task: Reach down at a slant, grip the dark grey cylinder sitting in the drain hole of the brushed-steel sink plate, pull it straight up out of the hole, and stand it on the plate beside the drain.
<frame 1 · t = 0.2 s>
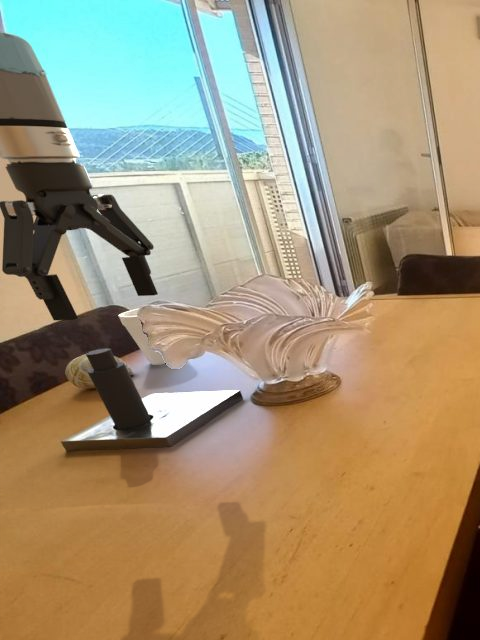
hand: (110, 306, 75), 25 cm above the table, tool pointing down, fingers open, 13 cm apart
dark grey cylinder: (138, 431, 88), resting in sink plate
sink plate: (162, 422, 90), on the table
seashell: (105, 383, 108), on the table
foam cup: (167, 360, 120), on the table
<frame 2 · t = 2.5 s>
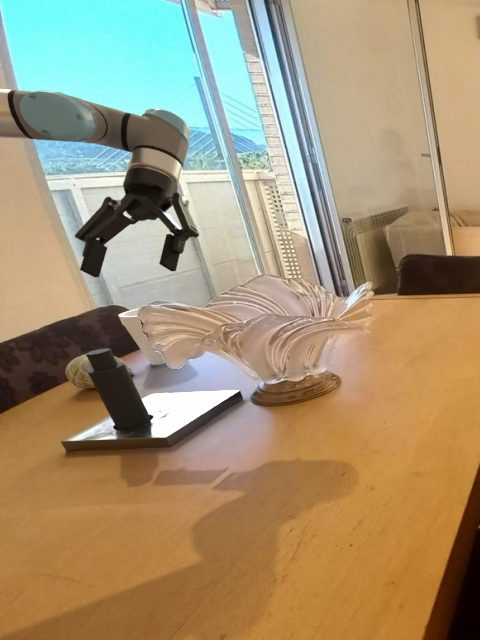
hand: (128, 270, 88), 27 cm above the table, tool tilted 45°, fingers open, 13 cm apart
nothing on the table moved.
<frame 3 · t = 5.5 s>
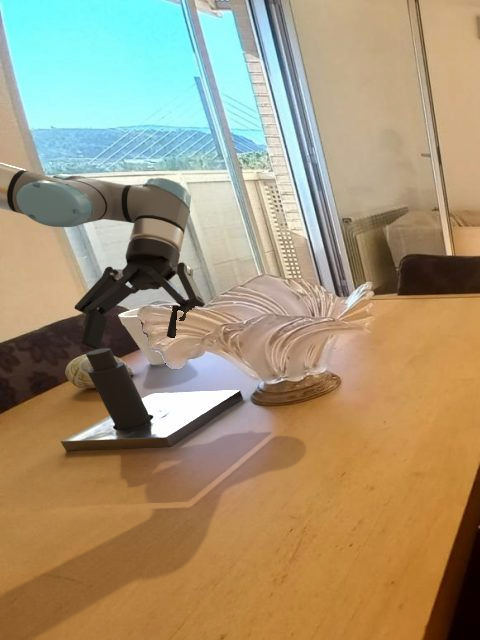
hand: (132, 342, 88), 15 cm above the table, tool tilted 45°, fingers open, 13 cm apart
nothing on the table moved.
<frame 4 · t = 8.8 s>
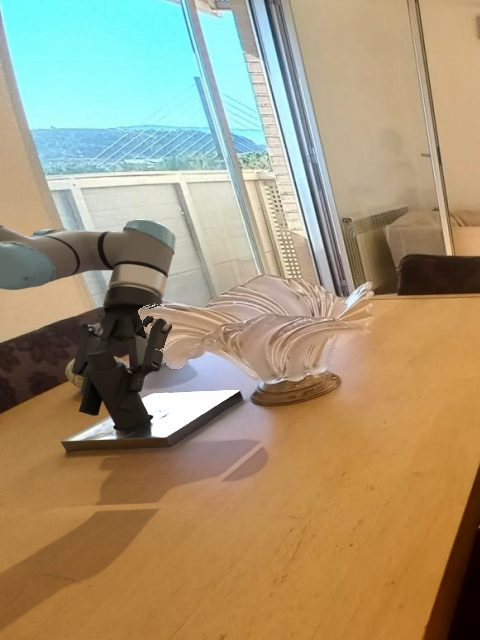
hand: (106, 411, 82), 6 cm above the table, tool tilted 45°, fingers closed on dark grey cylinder, 5 cm apart
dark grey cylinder: (138, 431, 88), resting in sink plate, touching gripper
everything else where it was.
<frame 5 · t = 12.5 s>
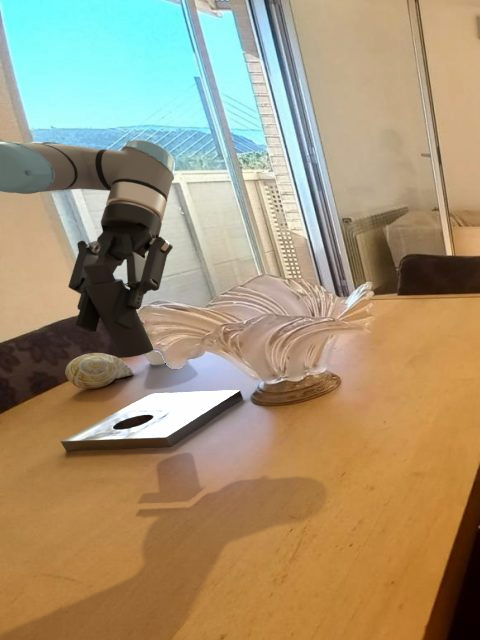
hand: (104, 326, 80), 20 cm above the table, tool tilted 45°, fingers closed on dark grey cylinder, 5 cm apart
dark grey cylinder: (136, 352, 85), point 14 cm above the table, touching gripper
everything else where it was.
when the fingers open (8 cm above the table, at t = 16.6 s): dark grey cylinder stays where it is, resting on sink plate.
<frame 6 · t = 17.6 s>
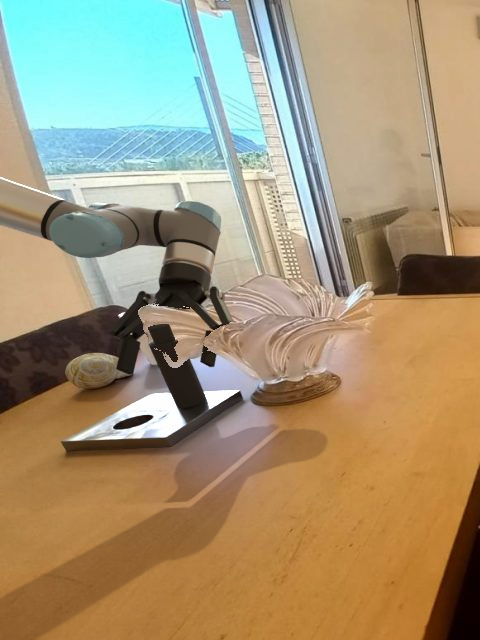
hand: (166, 368, 88), 10 cm above the table, tool tilted 45°, fingers open, 13 cm apart
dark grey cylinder: (191, 402, 93), point 2 cm above the table, touching sink plate
everything else where it was.
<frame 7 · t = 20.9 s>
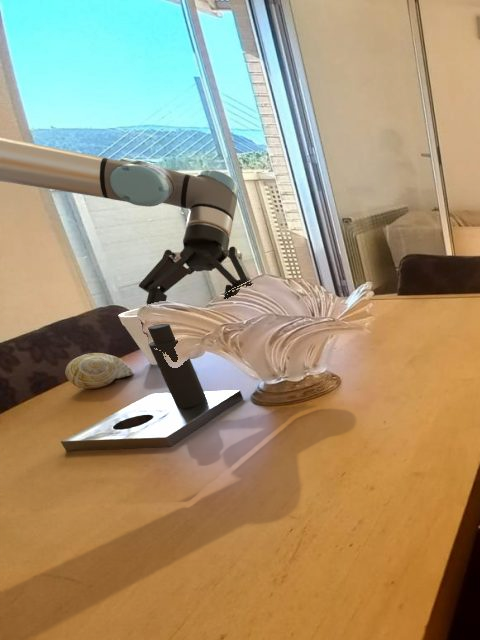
hand: (190, 317, 98), 16 cm above the table, tool tilted 45°, fingers open, 13 cm apart
nothing on the table moved.
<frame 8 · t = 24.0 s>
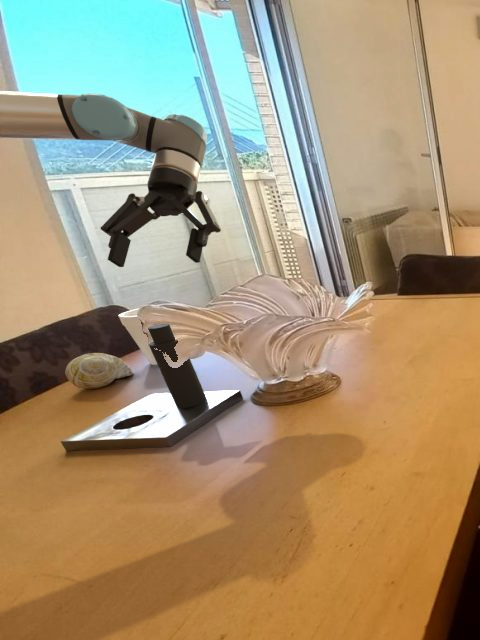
hand: (154, 261, 95), 28 cm above the table, tool tilted 45°, fingers open, 13 cm apart
nothing on the table moved.
at the end: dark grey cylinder inside the target area (0.2 cm from its centre), point 2.0 cm above the table; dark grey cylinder tilted 0°; the gripper is holding nothing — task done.
